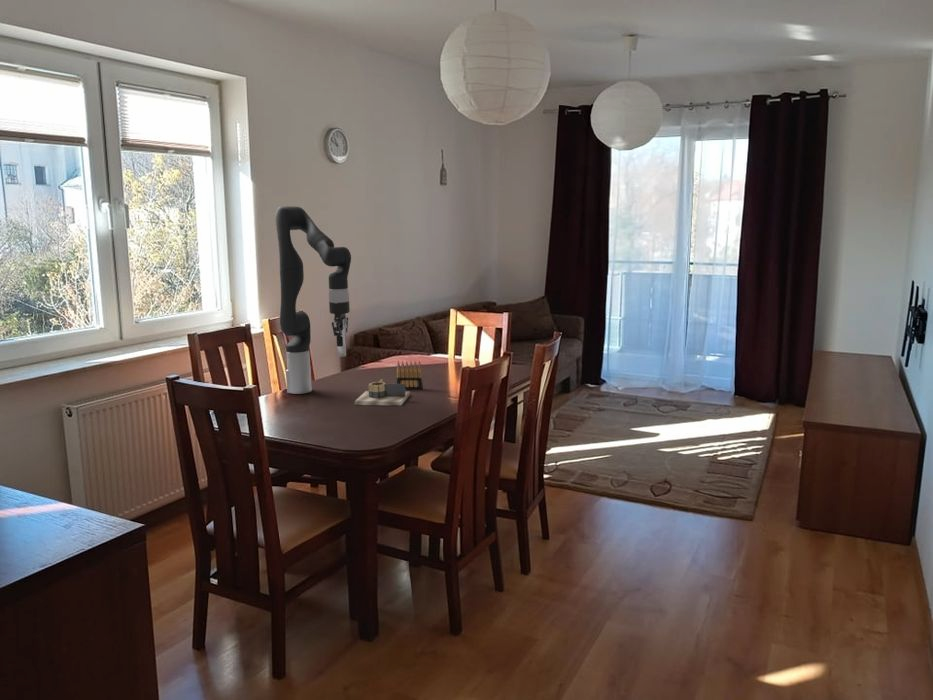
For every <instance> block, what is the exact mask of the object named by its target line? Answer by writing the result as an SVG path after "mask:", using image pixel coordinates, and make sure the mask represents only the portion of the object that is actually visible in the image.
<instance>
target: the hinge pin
mask: <svg viewBox="0 0 933 700" xmlns="http://www.w3.org/2000/svg"><path fill="white" fill-rule="evenodd" d="M338 333H339V332H338ZM342 337H343V346H342V347H338V346H337V357H339V358H340V357H347V349H346V345H347V344H345V337H346V335H345V325H344V330H343V336H342Z"/></svg>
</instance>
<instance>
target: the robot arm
mask: <svg viewBox="0 0 933 700" xmlns="http://www.w3.org/2000/svg"><path fill="white" fill-rule="evenodd" d="M275 226H276V235H277V241H278V254H279V257H278V258H279V280H280V312H279V326H280V330H281V331H282V333H283V335H285V336H287V337H291V336H292V338H291V340H290V341H289V342H288V343H286V345H285V353H286V368H287V369H286V370H285V378H286V379H285V381H286V392H287V394H293V395H294V394H295V395H300V394H301V395H302V394H303V395H304V394H307V393H311V392H312V391H313V389H312V388H313V387H312V375H311V371H312V370H311V359H310V357H311V356H310V344H311V342H312V340H311V320H310V317H309V315H308V314H307V313H306V312H305V311H303V310H298V311H296V310H297V309H296V307H297V306H296V305H297V299H298V296H299V294H300V291H301V289H302V286H303V284H304V279H305V277H304V275H305V274H304V263H303V259H302V258H301V256H300V255H299V253H298V251H297V250H296V249H295V247H294V244H293V242H292V238H291V231H298V230H300V231H302V232H304V233H305V234H306V241H307V243H308V244H309V246H310V247H311V248H312V249H313V250H315V252H317V254H318V255H319V257H320V258H321V260H322V262H323V264H325V265H326V266H328V267H330V268H331V267H337V268H336V270H335V271H333V272H332V273H329V274H328V304H329V306H328V307H329V313H330V314H331V315H334V316H333V317H334V318H333V321H331V327H332V330H333V331H332V332H333V336H334V337H336V346H337V348H338V347H342V346H343V337H342V336H343V330H344V325H345V345H347V344H346V343H347V340H346V335H347V333H348V326H349V317H348V316H347V317H346V314H349V313H350V311H351V310H350V293H349V286H348V285H349V284H348V281H349V280H348V277H349V276H348V275H349V272H350V267H351V263H352V254H351V252H350V251H351V250H349V249H348V248H347V247H346V246H335V244H334V241H333V239H331V238H330V237H328V236H327V235H326V234H325V233H324V232H323V231H321V229H320V228H318V226H317V225H316V223H315V222H314V220H313V219H312V218H311V217H310V216H309V215H308V213H307V212H306V211H305V209H303V208H302V207H300V206H296V205H295V206H294V205H293V206H287V205H285V206H279V207H277V210H276V212H275ZM338 332H339V333H338Z"/></svg>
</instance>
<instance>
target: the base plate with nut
mask: <svg viewBox="0 0 933 700" xmlns="http://www.w3.org/2000/svg"><path fill="white" fill-rule="evenodd" d="M405 386H406V383H405V384H397V383H387V382H384V379H383V378H381V379H379V381H373V382H370V383H368V390H365V391H364V392H363V393H362V394H361V395H360V396H359V397H357V399H355V401H354V406H402V405H403V404H404V403H405V401H406V400H407V399H408V398H409V397H410V393H411V392H410V390H409V391H408V390H405Z"/></svg>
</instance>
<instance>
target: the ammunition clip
mask: <svg viewBox="0 0 933 700" xmlns="http://www.w3.org/2000/svg"><path fill="white" fill-rule="evenodd" d="M396 384H405V391H408V390H409V391H410V390H411V391H415V390H416V391H422V390H424V386H423V385H424V384H423V371H422V363H421V361H420V360H418V364H417V362H416V361H414V362H412V360H410V362H408V360H406V361H405V363H404V361H403V360H402V361H401V364H400V361H398V360H397V363H396Z"/></svg>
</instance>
